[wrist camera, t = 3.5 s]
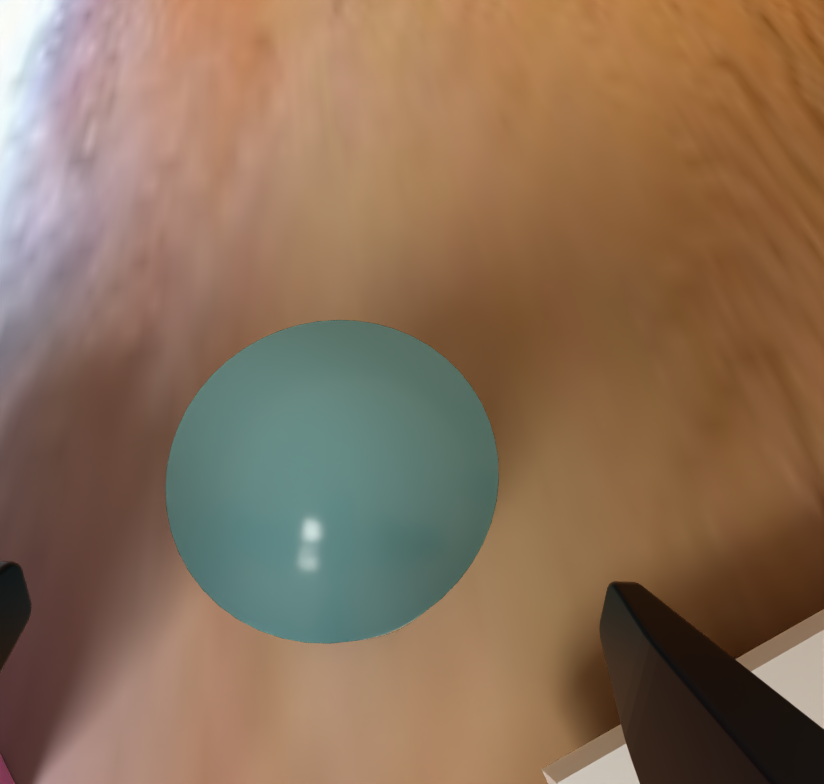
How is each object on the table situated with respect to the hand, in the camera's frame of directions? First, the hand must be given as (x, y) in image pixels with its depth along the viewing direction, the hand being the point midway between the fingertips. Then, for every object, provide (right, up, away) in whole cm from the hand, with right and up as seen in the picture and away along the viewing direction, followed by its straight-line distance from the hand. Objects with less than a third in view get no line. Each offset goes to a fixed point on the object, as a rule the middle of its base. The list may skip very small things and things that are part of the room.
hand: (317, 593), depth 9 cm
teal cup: (0, -2, +10) cm, 10 cm away
